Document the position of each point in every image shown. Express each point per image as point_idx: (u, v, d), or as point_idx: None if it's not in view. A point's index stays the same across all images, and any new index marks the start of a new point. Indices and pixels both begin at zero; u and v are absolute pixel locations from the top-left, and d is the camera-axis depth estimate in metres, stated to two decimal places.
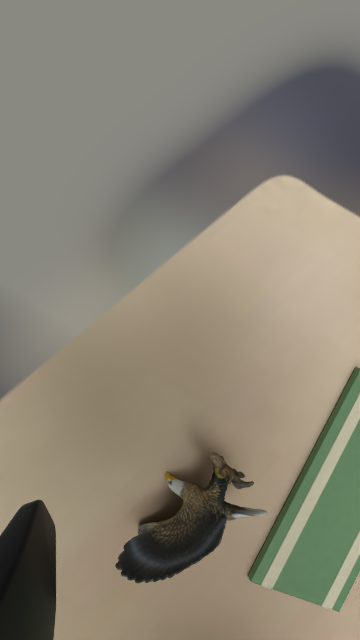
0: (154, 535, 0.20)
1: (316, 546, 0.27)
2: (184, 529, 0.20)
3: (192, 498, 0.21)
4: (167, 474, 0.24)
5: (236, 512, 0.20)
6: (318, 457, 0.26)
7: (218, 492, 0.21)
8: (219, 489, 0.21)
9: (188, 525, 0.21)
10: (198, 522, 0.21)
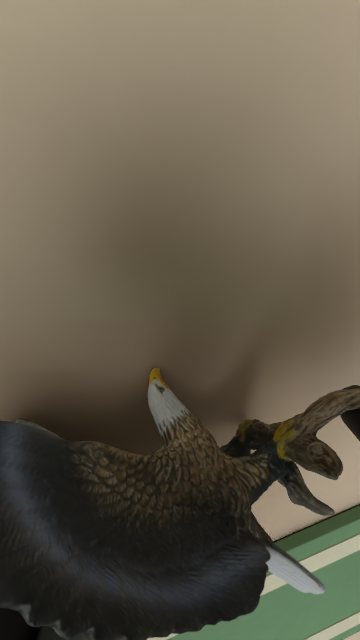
0: (79, 461, 0.06)
1: None
2: (151, 501, 0.07)
3: (200, 449, 0.08)
4: (157, 372, 0.10)
5: (276, 548, 0.08)
6: (335, 534, 0.15)
7: (260, 478, 0.08)
8: (264, 474, 0.09)
9: (162, 499, 0.07)
10: (187, 509, 0.07)
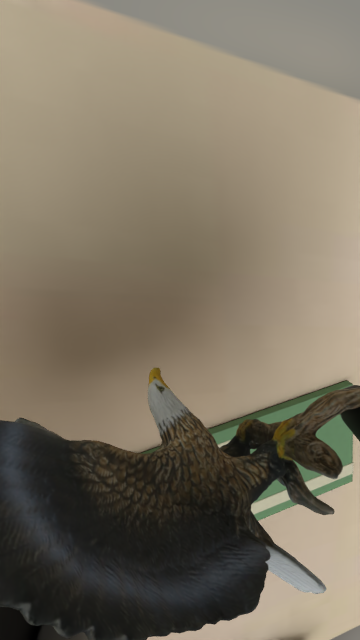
0: (79, 461, 0.06)
1: None
2: (151, 501, 0.07)
3: (200, 448, 0.08)
4: (157, 372, 0.10)
5: (276, 548, 0.08)
6: None
7: (260, 478, 0.08)
8: (264, 474, 0.09)
9: (162, 498, 0.07)
10: (186, 508, 0.07)
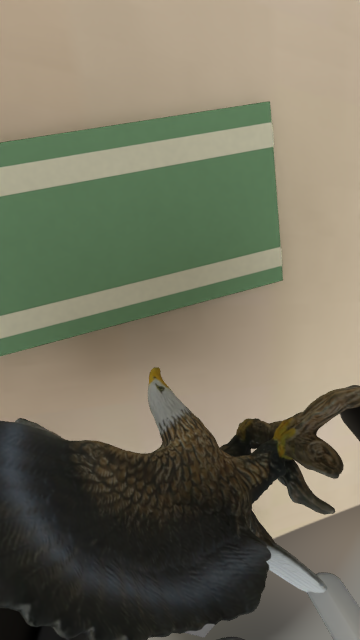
0: (80, 461, 0.06)
1: (3, 246, 0.15)
2: (151, 501, 0.07)
3: (200, 448, 0.08)
4: (157, 372, 0.10)
5: (277, 547, 0.08)
6: (119, 131, 0.15)
7: (260, 477, 0.08)
8: (265, 473, 0.09)
9: (163, 498, 0.07)
10: (187, 508, 0.07)
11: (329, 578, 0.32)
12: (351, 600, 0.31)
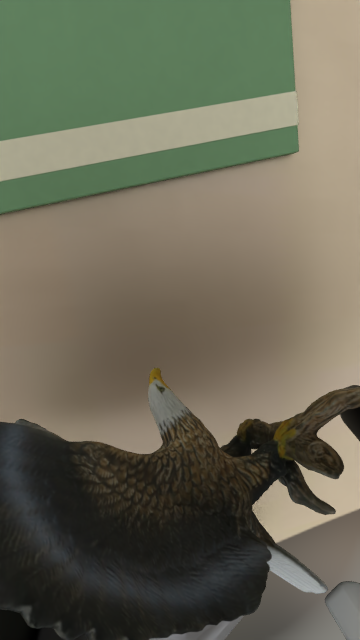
0: (80, 462, 0.06)
1: None
2: (151, 502, 0.07)
3: (201, 449, 0.08)
4: (158, 372, 0.10)
5: (277, 548, 0.08)
6: None
7: (261, 478, 0.08)
8: (265, 474, 0.09)
9: (163, 499, 0.07)
10: (187, 509, 0.07)
11: (355, 589, 0.25)
12: None
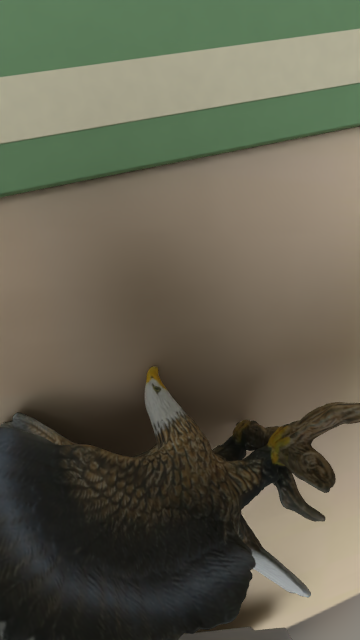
0: (69, 467, 0.07)
1: None
2: (140, 505, 0.07)
3: (192, 453, 0.08)
4: (155, 371, 0.10)
5: (263, 553, 0.08)
6: None
7: (251, 483, 0.09)
8: (256, 479, 0.09)
9: (152, 502, 0.07)
10: (175, 512, 0.08)
11: None
12: None
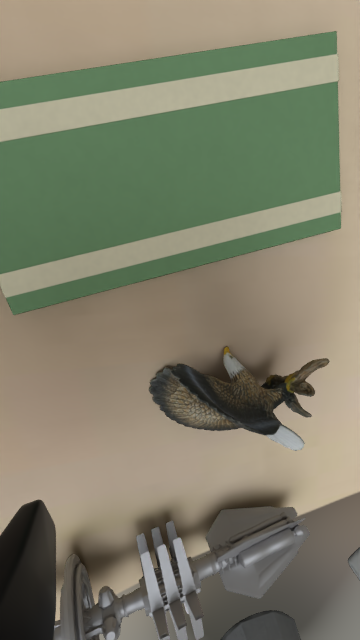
0: (208, 381, 0.17)
1: (66, 184, 0.15)
2: (232, 400, 0.18)
3: (251, 383, 0.19)
4: (228, 349, 0.20)
5: (283, 425, 0.18)
6: (185, 61, 0.15)
7: (277, 398, 0.19)
8: (280, 396, 0.19)
9: (237, 400, 0.18)
10: (246, 405, 0.18)
11: None
12: None
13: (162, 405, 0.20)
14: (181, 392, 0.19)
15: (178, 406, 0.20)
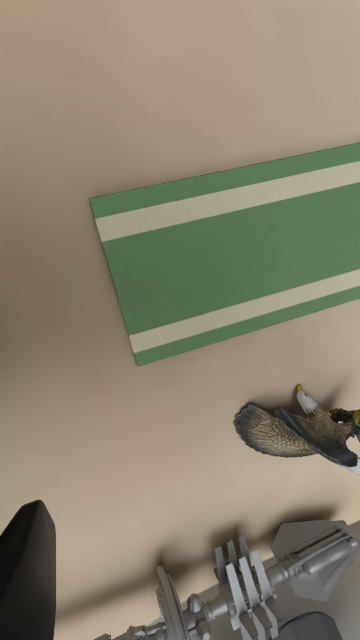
0: (298, 421, 0.20)
1: (191, 261, 0.18)
2: (315, 435, 0.21)
3: (327, 419, 0.22)
4: (300, 387, 0.24)
5: None
6: (292, 162, 0.18)
7: (348, 431, 0.22)
8: (350, 430, 0.22)
9: (318, 435, 0.21)
10: (325, 439, 0.21)
11: None
12: None
13: (243, 435, 0.24)
14: (264, 426, 0.23)
15: (261, 437, 0.23)
